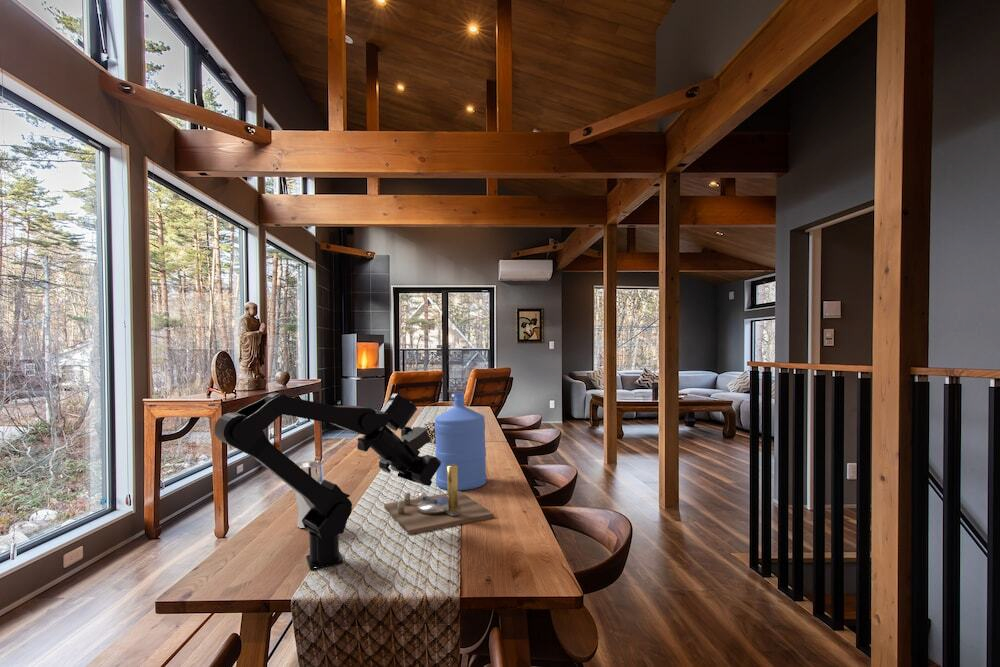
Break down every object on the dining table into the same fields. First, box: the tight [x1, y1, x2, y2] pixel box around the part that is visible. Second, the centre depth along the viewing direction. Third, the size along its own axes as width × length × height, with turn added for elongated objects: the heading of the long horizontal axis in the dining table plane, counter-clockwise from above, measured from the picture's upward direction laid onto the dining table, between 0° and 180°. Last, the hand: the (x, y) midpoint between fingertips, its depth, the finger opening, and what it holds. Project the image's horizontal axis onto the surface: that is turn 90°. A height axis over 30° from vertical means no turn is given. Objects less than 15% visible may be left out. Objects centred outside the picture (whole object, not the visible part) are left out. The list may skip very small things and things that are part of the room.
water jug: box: [434, 392, 488, 491], centre depth 161 cm, size 16×16×28 cm
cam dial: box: [417, 465, 461, 516], centre depth 135 cm, size 16×10×12 cm, turn 43°
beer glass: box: [294, 460, 325, 529], centre depth 129 cm, size 7×7×15 cm
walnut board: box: [383, 490, 494, 535], centre depth 135 cm, size 22×22×4 cm
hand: (430, 484), depth 125 cm, fingers closed
